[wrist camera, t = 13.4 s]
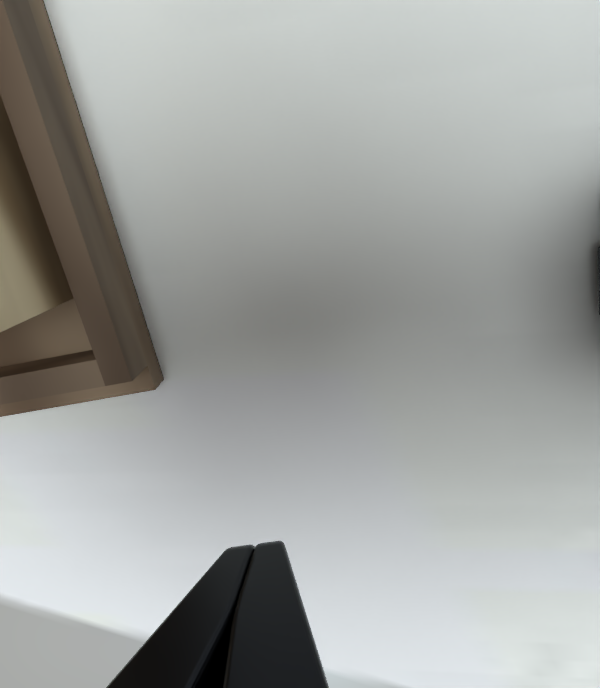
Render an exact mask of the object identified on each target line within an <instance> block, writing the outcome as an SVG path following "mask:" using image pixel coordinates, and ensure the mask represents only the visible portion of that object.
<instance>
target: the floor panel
mask: <svg viewBox="0 0 600 688" xmlns="http://www.w3.org/2000/svg"><path fill="white" fill-rule="evenodd" d="M0 95H1V98H2V101H3V104H4V106H5V109H6V112H7V115H8V117H9V120H10V123H11V126H12V128H13V131H14V134H15V137H16V140H17V142H18V145H19V148H20V151H21V153H22V156H23V159H24V162H25V165H26V167H27V170H28V173H29V176H30V178H31V181H32V184H33V187H34V190H35V192H36V195H37V198H38V201H39V203H40V206H41V209H42V212H43V214H44V217H45V220H46V223H47V226H48V228H49V231H50V234H51V237H52V239H53V242H54V245H55V248H56V251H57V253H58V256H59V259H60V262H61V264H62V267H63V270H64V273H65V275H66V278H67V281H68V284H69V287H70V289H71V292H72V295H73V299H71V300H69V301H67V302H65V303H62V304H60V305H58V306H56V307H54V308H52V309H50V310H47V311H45V312H43V313H41V314H39V315H37V316H35V317H32V318H30V319H28V320H26V321H24V322H22V323H19V324H17V325H15V326H13V327H11V328H9V329H7V330H4V331H2V332H0V417H2V416H7V415H13V414H19V413H25V412H30V411H36V410H42V409H47V408H53V407H59V406H65V405H70V404H76V403H82V402H87V401H93V400H99V399H105V398H110V397H116V396H122V395H127V394H133V393H139V392H145V391H150V390H155V389H156V388H157V387H158V386H159V385H160V383H161V382H162V381H163V380H164V379H163V376H162V372H161V369H160V366H159V363H158V360H157V357H156V354H155V351H154V347H153V344H152V341H151V338H150V335H149V332H148V329H147V325H146V322H145V319H144V316H143V313H142V310H141V307H140V303H139V300H138V297H137V294H136V291H135V288H134V285H133V282H132V278H131V275H130V272H129V269H128V266H127V263H126V260H125V256H124V253H123V250H122V247H121V244H120V241H119V238H118V234H117V231H116V228H115V225H114V222H113V219H112V216H111V212H110V209H109V206H108V203H107V200H106V197H105V194H104V191H103V187H102V184H101V181H100V178H99V175H98V172H97V169H96V165H95V162H94V159H93V156H92V153H91V150H90V147H89V143H88V140H87V137H86V134H85V131H84V128H83V125H82V122H81V118H80V115H79V112H78V109H77V106H76V103H75V100H74V96H73V93H72V90H71V87H70V84H69V81H68V78H67V74H66V71H65V68H64V65H63V62H62V59H61V56H60V52H59V49H58V46H57V43H56V40H55V37H54V34H53V31H52V27H51V24H50V21H49V18H48V15H47V12H46V9H45V5H44V2H43V0H0Z"/></svg>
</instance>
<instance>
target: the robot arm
mask: <svg viewBox="0 0 600 688" xmlns="http://www.w3.org/2000/svg"><path fill="white" fill-rule="evenodd" d="M598 279H599V314H600V247H599V248H598ZM106 688H329V686H328V683H327V680H326V677H325V673H324V670H323V667H322V664H321V661H320V657H319V654H318V651H317V648H316V644H315V641H314V638H313V635H312V632H311V628H310V625H309V622H308V619H307V615H306V612H305V609H304V606H303V603H302V599H301V596H300V593H299V590H298V587H297V583H296V580H295V577H294V574H293V570H292V567H291V564H290V561H289V558H288V554H287V551H286V548H285V545H284V543H283V542H282V541H274V542H267V543H260V544H258V545H257V546H256V547H255V546H253V545H244V546H237V547H231V548H228V549H227V550H225V551H224V552H223V554H222V555H221V556H220V557H219V558H218V559H217V560H216V562H215V563H214V564H213V565H212V566H211V567H210V569H209V570H208V571H207V572H206V573H205V574H204V575H203V577H202V578H201V579H200V580H199V581H198V582H197V584H196V585H195V586H194V587H193V588H192V589H191V590H190V592H189V593H188V594H187V595H186V596H185V597H184V599H183V600H182V601H181V602H180V603H179V604H178V605H177V607H176V608H175V609H174V610H173V611H172V612H171V613H170V615H169V616H168V617H167V618H166V619H165V620H164V622H163V623H162V624H161V625H160V626H159V627H158V628H157V630H156V631H155V632H154V633H153V634H152V635H151V637H150V638H149V639H148V640H147V641H146V642H145V643H144V645H143V646H142V647H141V648H140V649H139V650H138V652H137V653H136V654H135V655H134V656H133V657H132V658H131V660H130V661H129V662H128V663H127V664H126V666H125V667H124V668H123V669H122V670H121V671H120V672H119V673H118V675H117V676H116V677H115V678H114V679H113V680H112V682H111V683H110V684H109V685H108V686H107V687H106Z"/></svg>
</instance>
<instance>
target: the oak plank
mask: <svg viewBox="0 0 600 688" xmlns="http://www.w3.org/2000/svg"><path fill="white" fill-rule="evenodd" d="M71 299H73V295H72V292H71V289H70V287H69V284H68V281H67V278H66V275H65V273H64V270H63V267H62V264H61V262H60V259H59V256H58V253H57V251H56V248H55V245H54V242H53V239H52V237H51V234H50V231H49V228H48V226H47V223H46V220H45V217H44V214H43V212H42V209H41V206H40V203H39V201H38V198H37V195H36V192H35V190H34V187H33V184H32V181H31V178H30V176H29V173H28V170H27V167H26V165H25V162H24V159H23V156H22V153H21V151H20V148H19V145H18V142H17V140H16V137H15V134H14V131H13V128H12V126H11V123H10V120H9V117H8V115H7V112H6V109H5V106H4V104H3V101H2V98H1V95H0V332H2V331H4V330H7V329H9V328H11V327H13V326H15V325H17V324H19V323H22V322H24V321H26V320H28V319H30V318H32V317H35V316H37V315H39V314H41V313H43V312H45V311H47V310H50V309H52V308H54V307H56V306H58V305H60V304H62V303H65V302H67V301H69V300H71Z"/></svg>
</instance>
